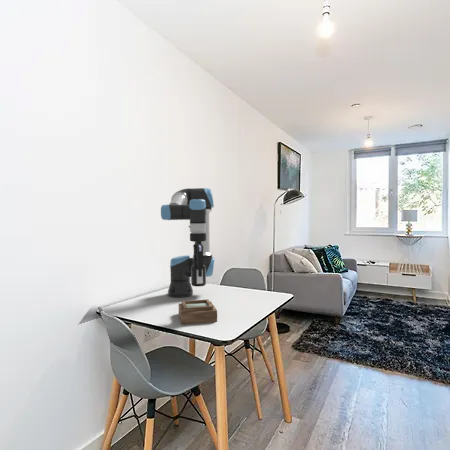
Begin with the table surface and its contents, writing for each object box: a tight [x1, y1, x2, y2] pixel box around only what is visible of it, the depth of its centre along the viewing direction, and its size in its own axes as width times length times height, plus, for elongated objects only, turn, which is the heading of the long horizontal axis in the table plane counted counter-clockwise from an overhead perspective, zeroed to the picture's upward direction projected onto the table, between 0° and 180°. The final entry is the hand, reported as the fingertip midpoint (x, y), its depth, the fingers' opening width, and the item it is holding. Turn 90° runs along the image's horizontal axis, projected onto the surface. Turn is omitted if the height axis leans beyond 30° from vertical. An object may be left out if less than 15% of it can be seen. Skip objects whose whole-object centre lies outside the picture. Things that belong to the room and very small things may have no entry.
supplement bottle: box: [190, 259, 207, 287], centre depth 148 cm, size 7×7×12 cm
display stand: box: [178, 299, 218, 326], centre depth 148 cm, size 16×16×6 cm
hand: (198, 281), depth 148 cm, fingers closed on supplement bottle, 7 cm apart
